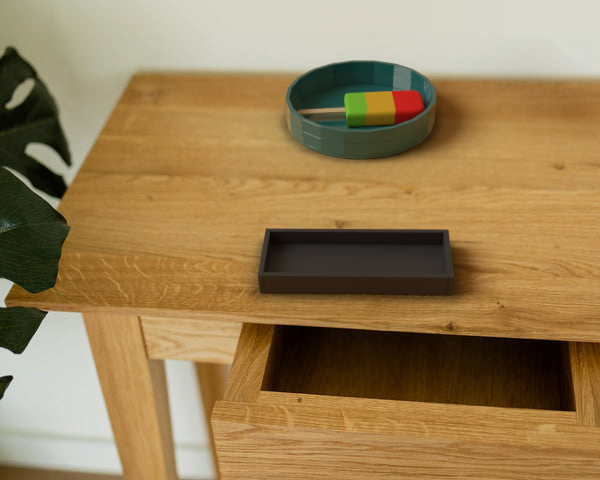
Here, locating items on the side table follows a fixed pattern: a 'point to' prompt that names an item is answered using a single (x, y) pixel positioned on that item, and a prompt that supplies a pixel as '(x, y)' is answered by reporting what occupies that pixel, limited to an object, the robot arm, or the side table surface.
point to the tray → (356, 261)
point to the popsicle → (376, 108)
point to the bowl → (333, 127)
